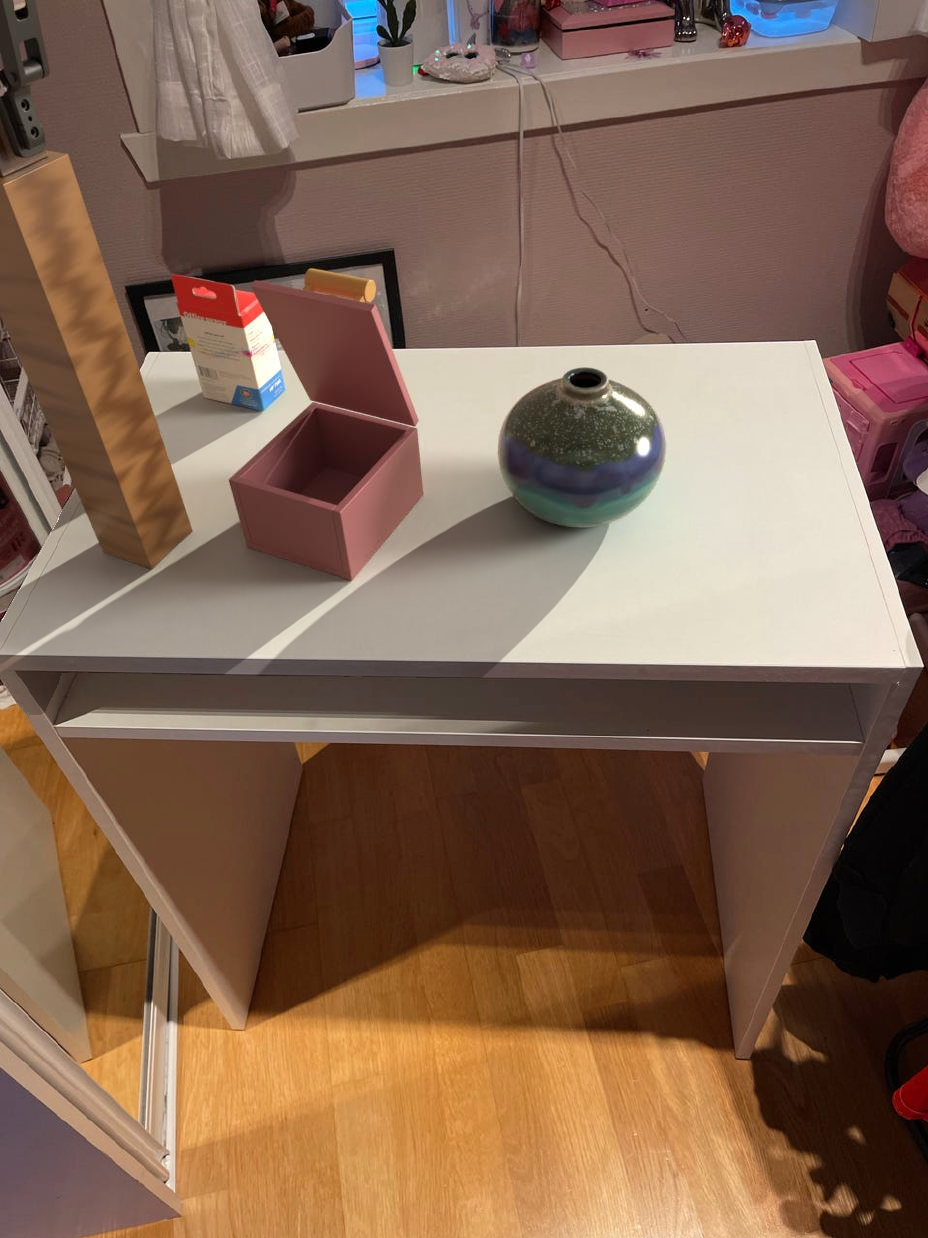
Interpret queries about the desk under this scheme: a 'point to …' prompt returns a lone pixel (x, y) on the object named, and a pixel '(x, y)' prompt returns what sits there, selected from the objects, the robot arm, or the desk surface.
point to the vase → (581, 449)
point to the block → (14, 156)
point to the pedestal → (84, 364)
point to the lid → (338, 344)
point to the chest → (329, 489)
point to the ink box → (229, 343)
